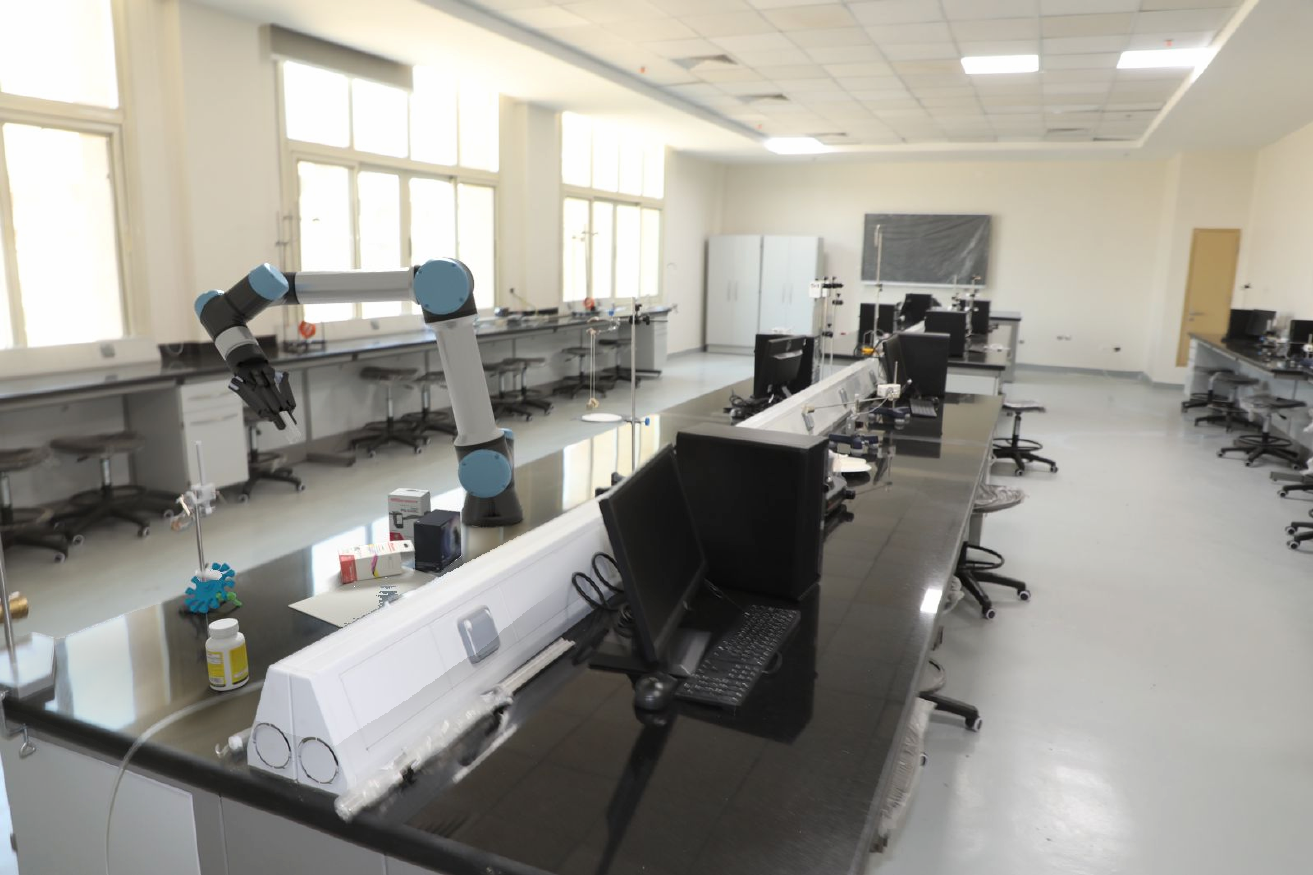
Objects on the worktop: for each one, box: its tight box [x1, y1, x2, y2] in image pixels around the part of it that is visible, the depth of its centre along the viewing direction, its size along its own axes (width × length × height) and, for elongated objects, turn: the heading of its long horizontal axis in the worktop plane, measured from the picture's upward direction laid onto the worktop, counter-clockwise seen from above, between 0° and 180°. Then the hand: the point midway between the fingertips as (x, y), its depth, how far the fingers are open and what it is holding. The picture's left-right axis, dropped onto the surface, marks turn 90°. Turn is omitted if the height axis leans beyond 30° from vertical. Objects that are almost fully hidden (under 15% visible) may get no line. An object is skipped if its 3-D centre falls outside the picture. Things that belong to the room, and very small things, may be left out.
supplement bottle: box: [205, 617, 250, 692], centre depth 128 cm, size 5×5×10 cm
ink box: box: [387, 487, 432, 546], centre depth 193 cm, size 9×5×12 cm, turn 78°
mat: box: [287, 564, 437, 628], centre depth 163 cm, size 26×18×1 cm
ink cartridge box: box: [337, 540, 415, 584], centre depth 175 cm, size 9×5×15 cm
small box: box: [413, 508, 463, 573], centre depth 180 cm, size 11×6×10 cm, turn 169°
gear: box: [184, 562, 243, 614], centre depth 158 cm, size 11×6×10 cm
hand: (296, 439), depth 173 cm, fingers closed
